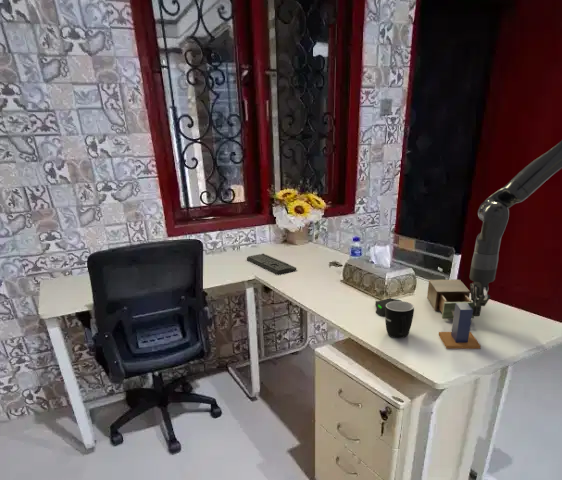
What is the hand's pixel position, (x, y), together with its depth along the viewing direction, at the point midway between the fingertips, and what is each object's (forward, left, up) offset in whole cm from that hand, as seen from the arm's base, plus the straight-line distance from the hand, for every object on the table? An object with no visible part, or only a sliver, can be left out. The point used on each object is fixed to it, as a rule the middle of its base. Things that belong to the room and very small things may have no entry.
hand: (475, 315), depth 140 cm
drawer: (+5, -7, -3) cm, 9 cm away
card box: (+8, +13, -2) cm, 16 cm away
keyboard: (+80, -78, -4) cm, 112 cm away
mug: (+26, +9, -4) cm, 28 cm away
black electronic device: (+26, -13, -4) cm, 30 cm away
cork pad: (+8, +13, -4) cm, 16 cm away
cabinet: (+4, -19, -4) cm, 20 cm away
